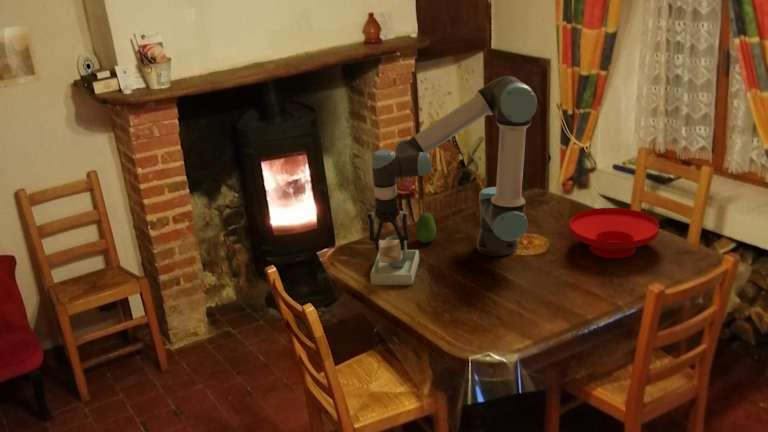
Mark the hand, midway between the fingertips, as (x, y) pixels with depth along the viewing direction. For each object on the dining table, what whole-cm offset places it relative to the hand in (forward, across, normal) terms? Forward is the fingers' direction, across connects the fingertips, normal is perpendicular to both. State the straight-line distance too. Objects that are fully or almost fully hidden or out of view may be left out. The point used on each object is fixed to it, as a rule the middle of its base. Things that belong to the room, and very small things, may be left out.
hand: (391, 258), depth 282 cm
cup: (+7, 0, -9) cm, 12 cm away
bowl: (+8, -76, -23) cm, 80 cm away
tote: (+8, 0, -6) cm, 10 cm away
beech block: (0, 0, 0) cm, 0 cm away
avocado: (+8, -8, -31) cm, 33 cm away
